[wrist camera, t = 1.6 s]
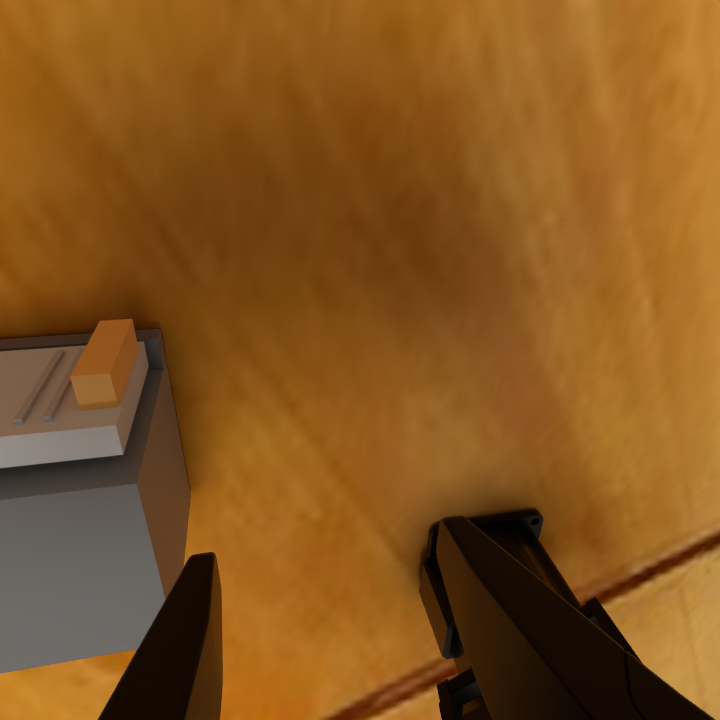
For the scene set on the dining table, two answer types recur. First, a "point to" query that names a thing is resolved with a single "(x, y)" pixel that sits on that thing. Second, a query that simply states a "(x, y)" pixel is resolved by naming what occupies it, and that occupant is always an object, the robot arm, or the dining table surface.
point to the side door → (71, 397)
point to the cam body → (93, 533)
